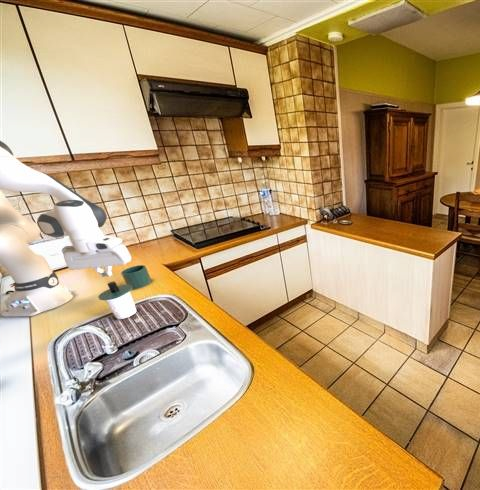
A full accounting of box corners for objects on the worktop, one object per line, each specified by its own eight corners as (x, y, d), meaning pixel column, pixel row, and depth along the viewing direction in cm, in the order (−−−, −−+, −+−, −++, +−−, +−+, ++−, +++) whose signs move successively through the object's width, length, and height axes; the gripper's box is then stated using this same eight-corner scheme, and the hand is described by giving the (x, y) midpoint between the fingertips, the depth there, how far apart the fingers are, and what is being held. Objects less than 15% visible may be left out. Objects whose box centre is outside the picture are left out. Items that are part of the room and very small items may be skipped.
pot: (123, 290, 130) (116, 275, 127) (136, 280, 139) (129, 266, 135) (144, 288, 131) (137, 273, 128) (155, 278, 140) (149, 264, 136)
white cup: (124, 321, 107) (113, 300, 103) (109, 319, 109) (98, 299, 105) (143, 309, 114) (133, 289, 110) (128, 307, 116) (119, 288, 112)
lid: (92, 303, 102) (86, 291, 100) (112, 288, 112) (106, 278, 110) (121, 299, 103) (115, 288, 101) (138, 285, 113) (134, 275, 111)
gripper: (51, 250, 95) (71, 283, 100) (113, 243, 97) (129, 276, 102) (67, 243, 100) (85, 275, 106) (125, 237, 103) (140, 269, 108)
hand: (107, 275), depth 104 cm, fingers closed
